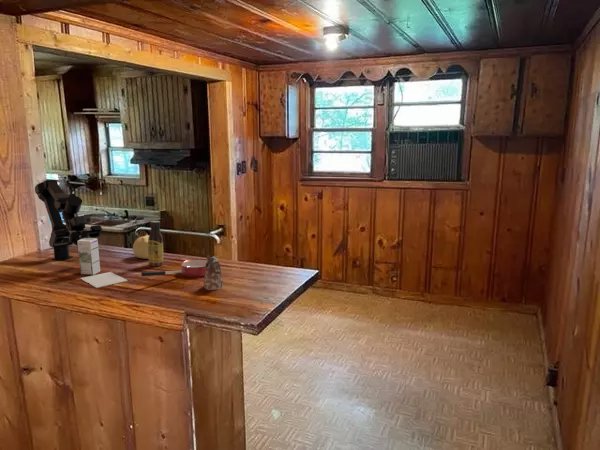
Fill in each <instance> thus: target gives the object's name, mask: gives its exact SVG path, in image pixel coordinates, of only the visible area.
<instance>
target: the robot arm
mask: <svg viewBox="0 0 600 450" xmlns="http://www.w3.org/2000/svg"><path fill="white" fill-rule="evenodd" d="M34 192H35V194H36V195H37V197H38V199H39V200H40V201H42V202H43V203H44V206H45V209H46V212H47V215H48V217H49V221H50V223H51V227H52V230H51V232H50V236H49V241H48V243H49V247H50V248H53V256H54V257H52V258H51V260H52V261H53V260H54V261H66V260H70V259H71V258H73V257H74V255H70V246H73V245H75V246H77V247H78V242H77V241H78V240H80V239H83V238H98V237H100V236H101V234H102V231H103V228H102V225H100V224H96V225H91V226H90V227H89V229H87V228H86V224H88V223H90V222H91V220H92V219H91V217H90V215H89V214H84V215H82V216H81V215H80V216H79V214H78V213H80V211H81V207H82V204H83V199H82V198H81V197H80V196H77V195H75V193H69V194H68V193H65V191H64V190H63V188H62V187H61V186H60V185H59V184H58V181H57V179H45V180H43V181H42V182H39V183H37V184H36V185H35V187H34ZM60 211H62V212H61V213H60ZM63 220H64V222H63ZM64 223H65V224H64Z"/></svg>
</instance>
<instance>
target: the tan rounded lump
mask: <svg viewBox="0 0 600 450" xmlns="http://www.w3.org/2000/svg"><path fill="white" fill-rule="evenodd" d="M149 236H150V234H149V235H148V234H146V235H142V236H140V237H138V238H136V239H135V240H134V242H133V245H132V252H133V255H134V256H135V257H136V258H139V259H147V260H149V256H148V239H149Z"/></svg>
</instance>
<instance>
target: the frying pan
mask: <svg viewBox="0 0 600 450" xmlns="http://www.w3.org/2000/svg"><path fill="white" fill-rule="evenodd" d="M207 261H208V259H207V258H193V259H187V260H185V261H182V262H180V270H169V271H168V270H167V271H166V270H159V271H158V270H157V271H142V272H141V276H142V277H153V276H164V275H170V274H171V275H172V274H173V275H174V274H181V275H182V276H184V277H188V278H202V277H203V278H204V277H205V272H206V270H207V268H206V262H207ZM209 266H210V264H209Z"/></svg>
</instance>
